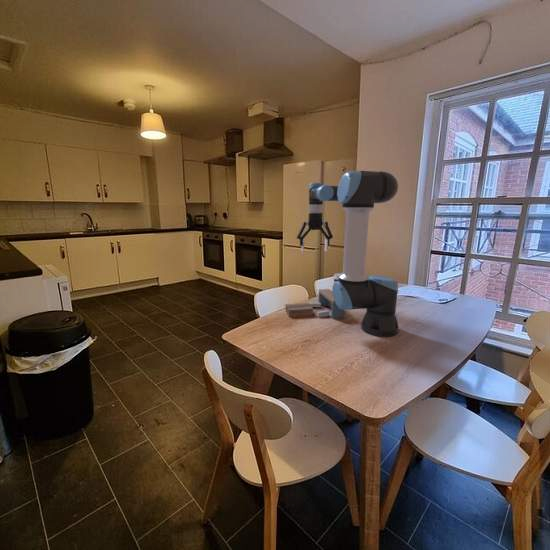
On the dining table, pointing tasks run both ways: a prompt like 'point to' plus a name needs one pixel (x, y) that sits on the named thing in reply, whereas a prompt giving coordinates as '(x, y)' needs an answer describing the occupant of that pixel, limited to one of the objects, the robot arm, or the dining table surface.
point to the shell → (299, 309)
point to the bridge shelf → (328, 299)
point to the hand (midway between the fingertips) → (314, 251)
